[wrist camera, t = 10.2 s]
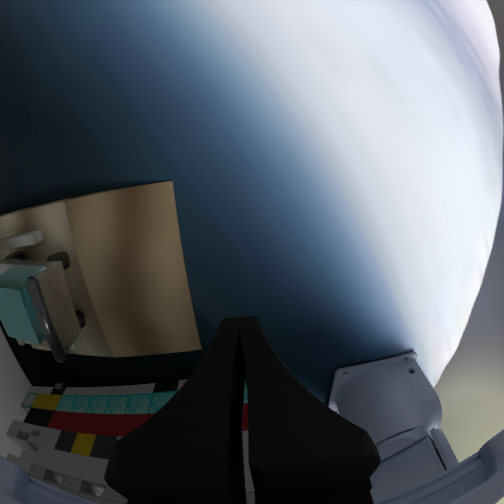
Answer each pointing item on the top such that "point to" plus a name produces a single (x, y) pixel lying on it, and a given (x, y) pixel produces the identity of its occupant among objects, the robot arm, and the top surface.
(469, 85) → the top surface
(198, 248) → the top surface
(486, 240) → the top surface
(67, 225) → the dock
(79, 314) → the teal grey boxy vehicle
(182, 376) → the toy vehicle
